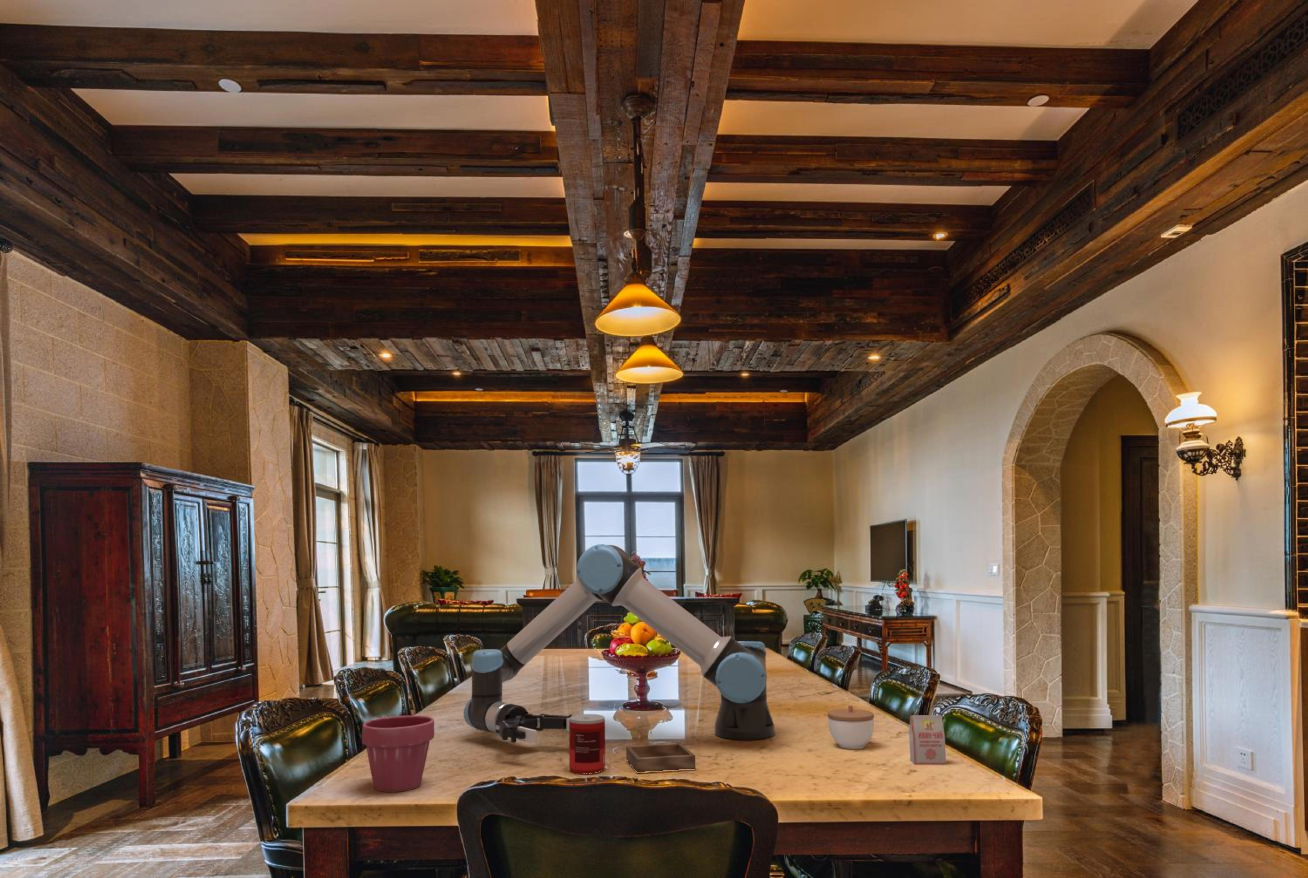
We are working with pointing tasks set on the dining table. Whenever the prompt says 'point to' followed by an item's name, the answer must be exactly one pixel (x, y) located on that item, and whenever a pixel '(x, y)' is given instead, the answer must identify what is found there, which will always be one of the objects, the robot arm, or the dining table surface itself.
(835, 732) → the lidded jar
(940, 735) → the white tea box
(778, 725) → the dining table surface
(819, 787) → the dining table surface
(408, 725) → the plant pot
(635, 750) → the walnut tray
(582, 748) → the canned food
